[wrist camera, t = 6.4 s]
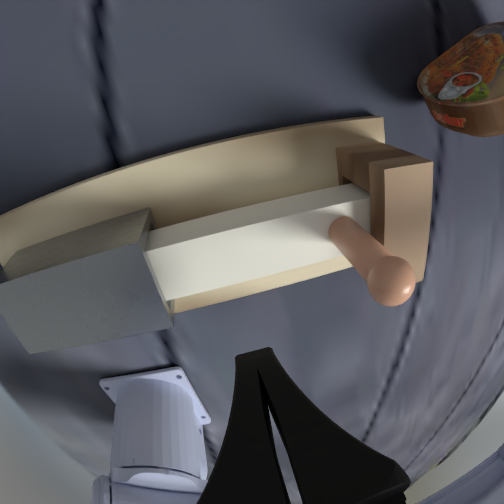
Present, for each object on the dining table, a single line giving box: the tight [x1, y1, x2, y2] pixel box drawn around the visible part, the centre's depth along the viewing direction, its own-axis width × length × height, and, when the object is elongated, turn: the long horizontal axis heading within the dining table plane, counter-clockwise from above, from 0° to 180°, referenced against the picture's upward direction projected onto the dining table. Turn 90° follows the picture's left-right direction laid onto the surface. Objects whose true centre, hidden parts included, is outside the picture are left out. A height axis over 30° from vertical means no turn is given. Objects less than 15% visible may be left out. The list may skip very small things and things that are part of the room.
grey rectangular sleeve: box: [0, 207, 175, 354], centre depth 16 cm, size 5×10×4 cm, turn 100°
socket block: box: [336, 141, 433, 283], centre depth 16 cm, size 7×3×5 cm, turn 10°
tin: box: [417, 22, 504, 137], centre depth 12 cm, size 15×3×8 cm, turn 130°
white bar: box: [145, 183, 415, 306], centre depth 14 cm, size 3×16×8 cm, turn 100°
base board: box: [0, 116, 385, 313], centre depth 18 cm, size 10×26×1 cm, turn 100°
